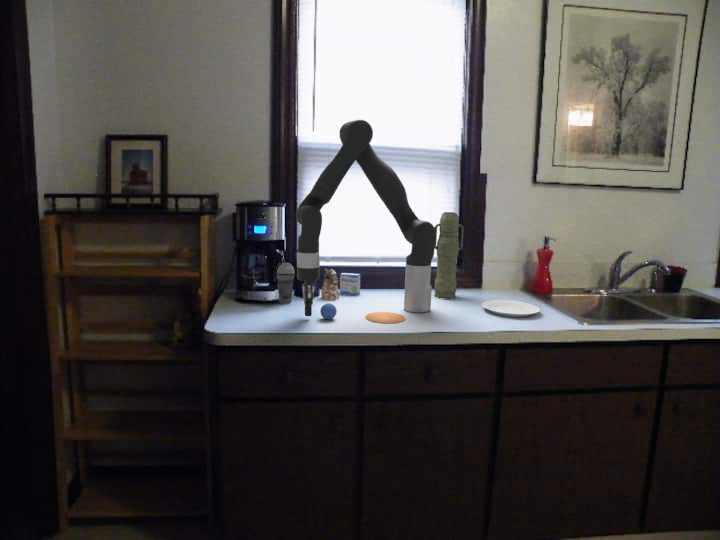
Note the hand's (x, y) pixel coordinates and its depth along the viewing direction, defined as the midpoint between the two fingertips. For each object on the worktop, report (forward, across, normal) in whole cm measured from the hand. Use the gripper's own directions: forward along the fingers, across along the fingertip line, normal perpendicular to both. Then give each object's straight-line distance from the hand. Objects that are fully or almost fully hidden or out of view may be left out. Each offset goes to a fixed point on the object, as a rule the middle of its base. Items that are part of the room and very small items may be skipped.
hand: (308, 315), depth 172 cm
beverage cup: (+2, +24, +7) cm, 25 cm away
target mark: (+2, 0, -27) cm, 27 cm away
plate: (+2, +5, -76) cm, 76 cm away
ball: (-1, 0, -7) cm, 7 cm away
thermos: (+2, +30, -59) cm, 66 cm away
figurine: (+2, +30, -11) cm, 32 cm away
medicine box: (+2, +37, -20) cm, 42 cm away
